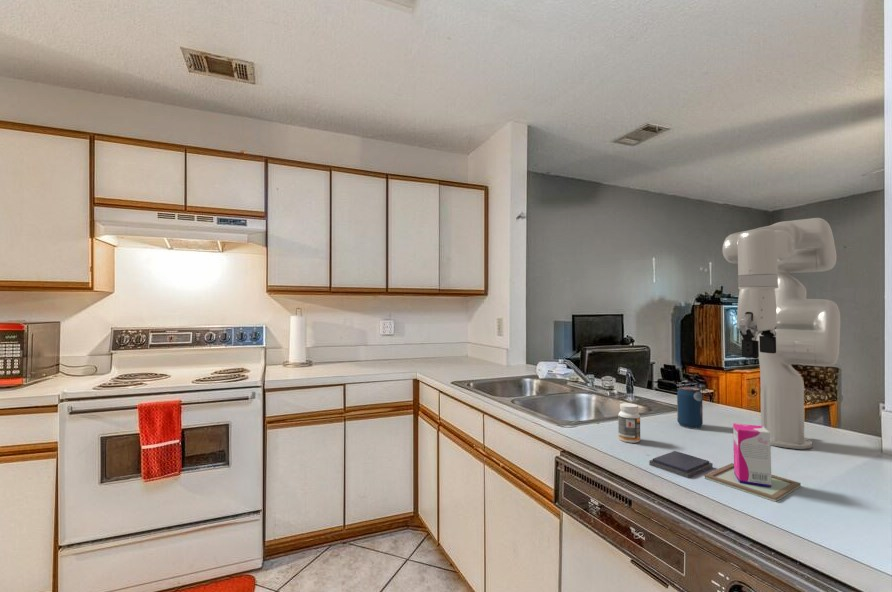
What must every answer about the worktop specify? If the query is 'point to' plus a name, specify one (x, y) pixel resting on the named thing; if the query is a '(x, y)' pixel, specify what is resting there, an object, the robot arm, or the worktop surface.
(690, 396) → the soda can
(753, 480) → the supplement box
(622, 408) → the pill bottle
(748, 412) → the worktop surface
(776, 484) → the brown picture frame
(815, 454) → the worktop surface
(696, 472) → the pad
